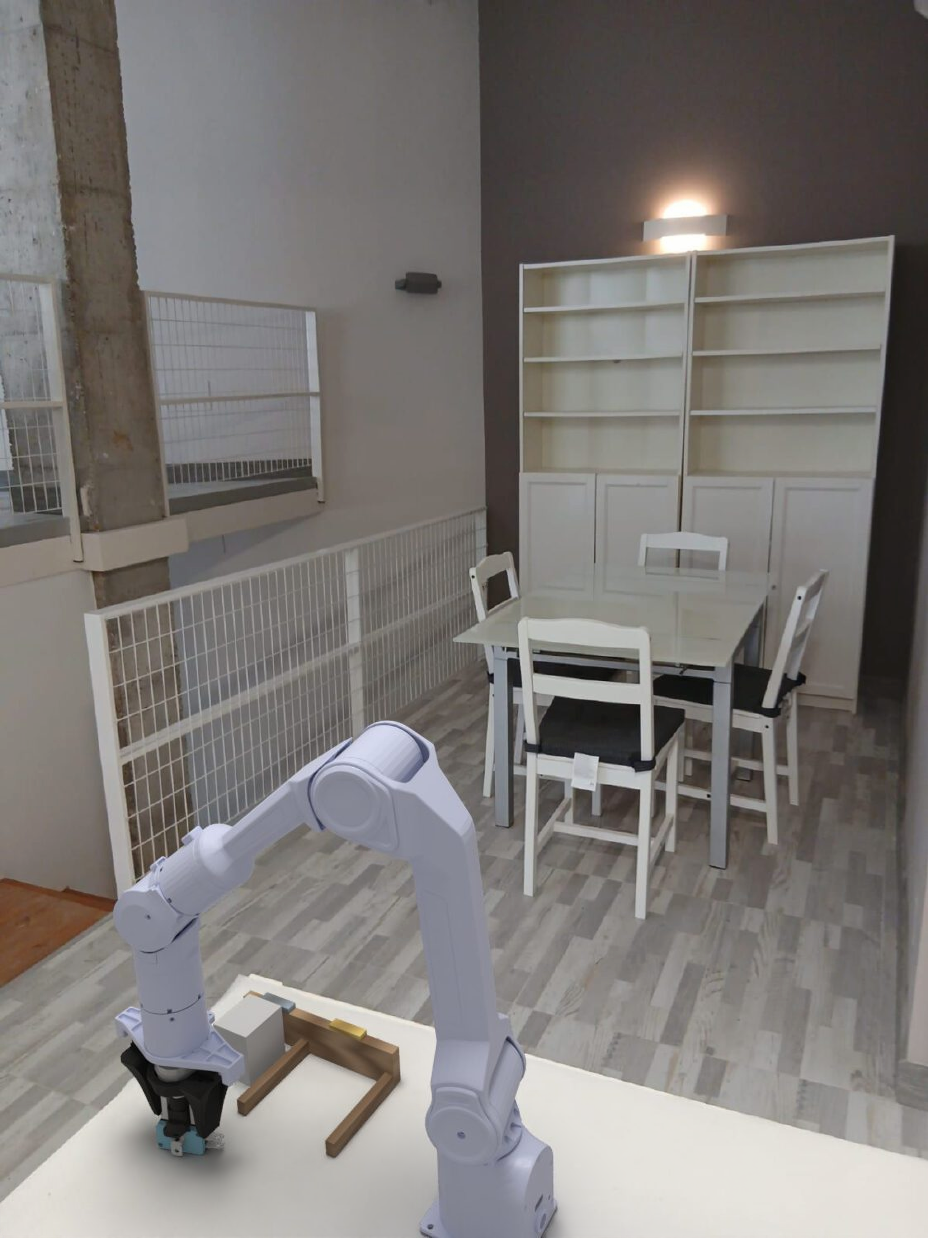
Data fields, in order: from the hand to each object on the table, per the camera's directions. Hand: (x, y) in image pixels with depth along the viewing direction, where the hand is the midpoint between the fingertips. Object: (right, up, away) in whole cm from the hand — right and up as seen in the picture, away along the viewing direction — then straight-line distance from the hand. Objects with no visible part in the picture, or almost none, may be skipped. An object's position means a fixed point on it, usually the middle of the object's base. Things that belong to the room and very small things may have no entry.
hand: (186, 1119), depth 87 cm
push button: (0, -3, +1) cm, 3 cm away
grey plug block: (+4, 0, +11) cm, 12 cm away
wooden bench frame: (+8, -1, +8) cm, 11 cm away
